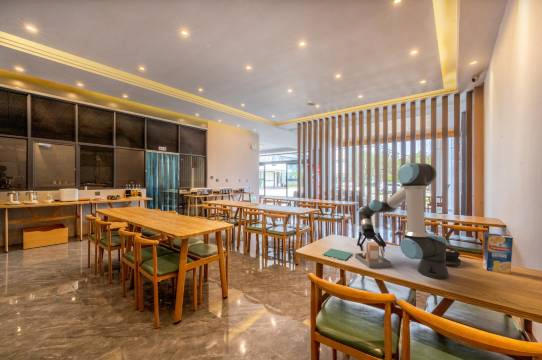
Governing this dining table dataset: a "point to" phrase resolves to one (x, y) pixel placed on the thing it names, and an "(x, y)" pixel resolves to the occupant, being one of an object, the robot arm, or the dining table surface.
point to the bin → (373, 265)
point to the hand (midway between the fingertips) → (373, 256)
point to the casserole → (452, 256)
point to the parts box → (372, 252)
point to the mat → (338, 254)
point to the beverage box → (497, 253)
